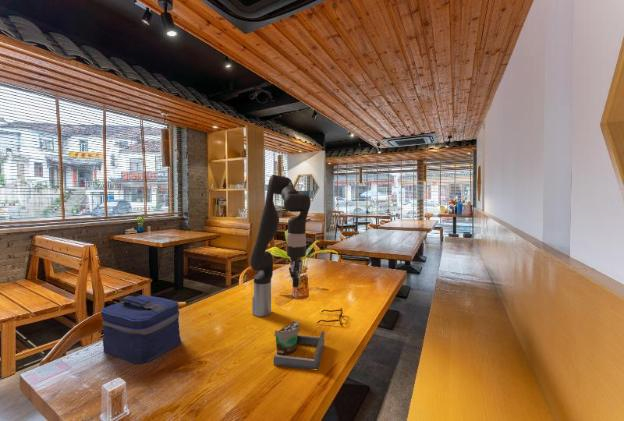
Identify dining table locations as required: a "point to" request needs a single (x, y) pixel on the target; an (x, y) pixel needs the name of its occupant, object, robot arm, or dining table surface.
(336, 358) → the dining table surface
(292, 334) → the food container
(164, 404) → the dining table surface
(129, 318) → the lunch bag
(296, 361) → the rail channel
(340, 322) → the glasses
